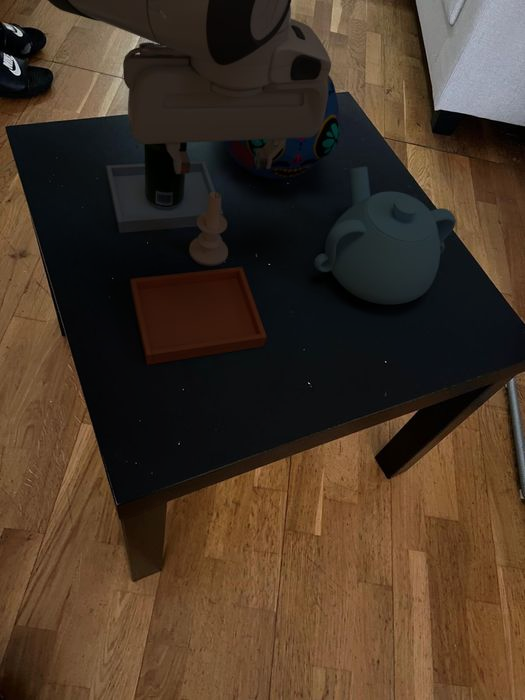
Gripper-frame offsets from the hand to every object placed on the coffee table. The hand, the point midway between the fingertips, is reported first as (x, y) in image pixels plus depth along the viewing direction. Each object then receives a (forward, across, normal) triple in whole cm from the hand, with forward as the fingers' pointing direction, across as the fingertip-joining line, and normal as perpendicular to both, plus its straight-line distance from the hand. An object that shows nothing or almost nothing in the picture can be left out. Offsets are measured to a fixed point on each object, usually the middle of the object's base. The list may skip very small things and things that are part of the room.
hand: (222, 168), depth 61 cm
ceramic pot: (+14, +13, +18) cm, 27 cm away
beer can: (+14, -4, +11) cm, 18 cm away
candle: (+14, 0, 0) cm, 14 cm away
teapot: (+14, +22, -4) cm, 26 cm away
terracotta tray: (+14, -4, -10) cm, 18 cm away
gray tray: (+14, -4, +11) cm, 18 cm away
